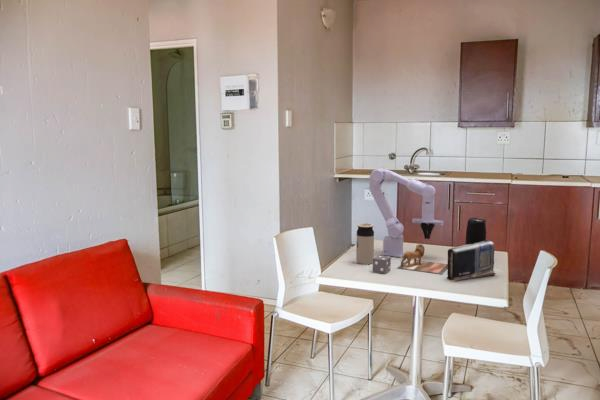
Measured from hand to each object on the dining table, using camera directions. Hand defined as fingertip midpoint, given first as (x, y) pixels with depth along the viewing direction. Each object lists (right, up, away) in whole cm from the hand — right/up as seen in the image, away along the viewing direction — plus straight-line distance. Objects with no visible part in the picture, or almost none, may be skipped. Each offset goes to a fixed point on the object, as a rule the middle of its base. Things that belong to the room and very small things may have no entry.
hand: (427, 238), depth 242 cm
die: (-25, -13, -21) cm, 35 cm away
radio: (+11, -14, -30) cm, 35 cm away
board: (-5, -12, -14) cm, 19 cm away
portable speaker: (+22, -10, -2) cm, 24 cm away
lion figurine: (-10, -11, -11) cm, 19 cm away
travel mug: (-31, -11, -6) cm, 33 cm away
